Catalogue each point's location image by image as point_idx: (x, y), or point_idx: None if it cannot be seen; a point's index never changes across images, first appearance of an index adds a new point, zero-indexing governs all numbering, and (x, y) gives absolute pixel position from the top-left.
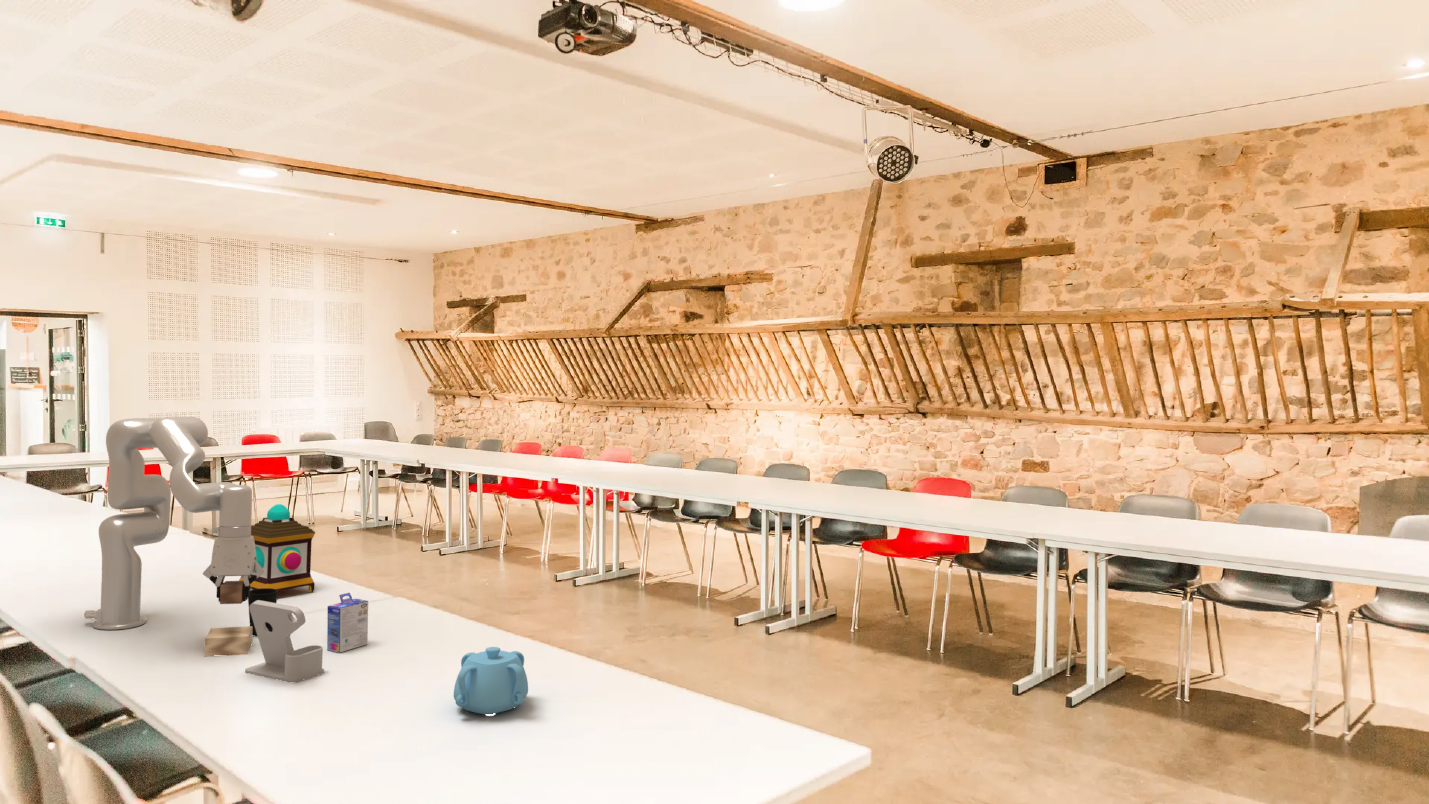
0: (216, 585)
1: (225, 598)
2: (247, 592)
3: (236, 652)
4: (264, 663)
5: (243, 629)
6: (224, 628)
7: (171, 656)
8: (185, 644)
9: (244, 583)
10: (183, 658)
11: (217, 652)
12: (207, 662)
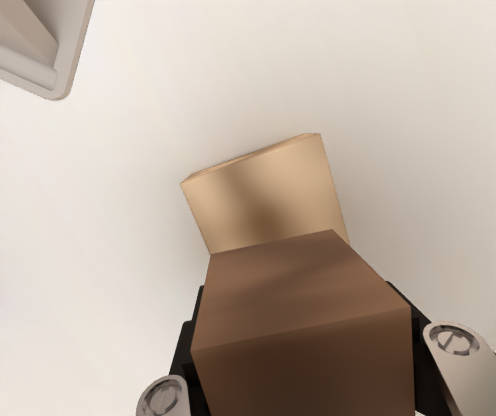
0: (455, 335)
1: (311, 251)
2: (184, 340)
3: (220, 164)
4: (65, 47)
5: None
6: None
7: (399, 129)
8: (404, 245)
9: (185, 397)
10: (356, 112)
11: (271, 146)
12: (268, 76)
